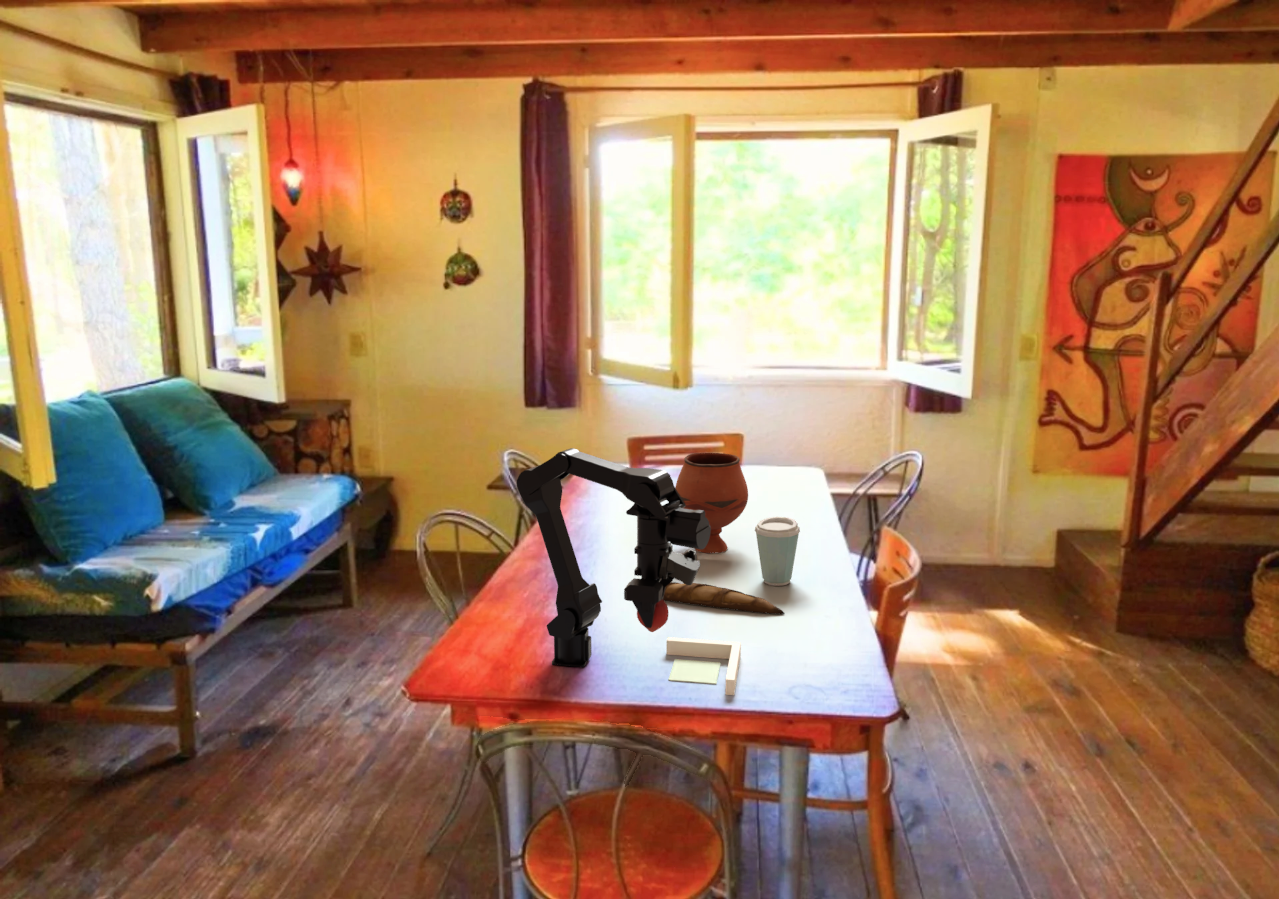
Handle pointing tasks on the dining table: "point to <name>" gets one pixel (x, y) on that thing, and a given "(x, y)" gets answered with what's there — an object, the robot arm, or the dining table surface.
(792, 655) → the dining table surface
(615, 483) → the robot arm
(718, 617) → the dining table surface
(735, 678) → the arena
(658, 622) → the onion
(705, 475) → the goblet
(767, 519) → the disposable coffee cup
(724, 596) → the bread
